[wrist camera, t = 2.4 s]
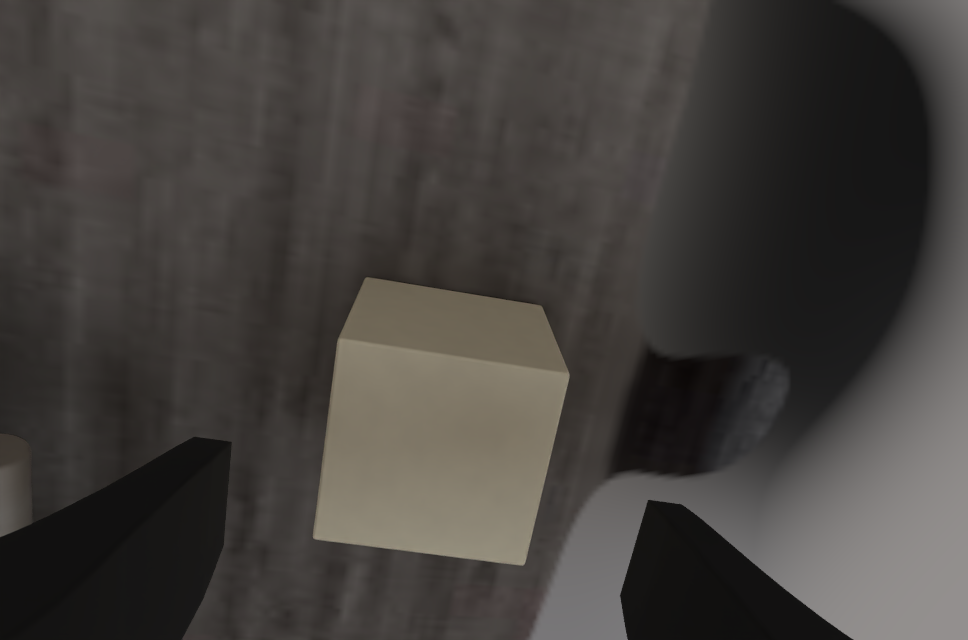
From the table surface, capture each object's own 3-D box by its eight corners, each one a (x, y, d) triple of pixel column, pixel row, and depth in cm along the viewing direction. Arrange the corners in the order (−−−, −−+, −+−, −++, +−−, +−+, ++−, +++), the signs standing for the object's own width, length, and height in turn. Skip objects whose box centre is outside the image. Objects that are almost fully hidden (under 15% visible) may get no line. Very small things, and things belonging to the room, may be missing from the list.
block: (542, 304, 18) (571, 373, 14) (508, 460, 19) (524, 567, 15) (364, 276, 17) (337, 338, 13) (343, 437, 19) (311, 540, 15)
